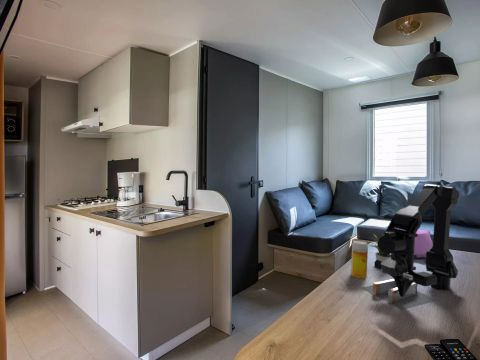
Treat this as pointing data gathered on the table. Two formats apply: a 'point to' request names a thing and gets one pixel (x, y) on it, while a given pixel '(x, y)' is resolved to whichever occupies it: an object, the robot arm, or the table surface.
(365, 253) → the beer can
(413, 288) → the tongs hinged arm
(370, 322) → the table surface
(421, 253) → the teapot
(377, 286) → the arm
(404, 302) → the charcoal mat
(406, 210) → the robot arm
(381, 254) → the house plant
